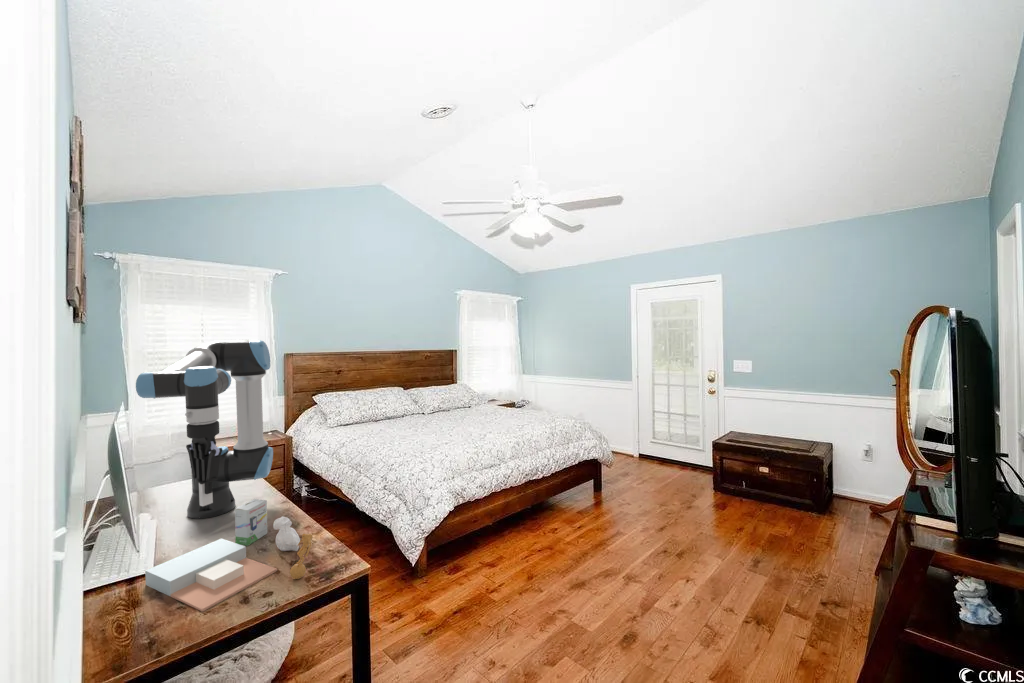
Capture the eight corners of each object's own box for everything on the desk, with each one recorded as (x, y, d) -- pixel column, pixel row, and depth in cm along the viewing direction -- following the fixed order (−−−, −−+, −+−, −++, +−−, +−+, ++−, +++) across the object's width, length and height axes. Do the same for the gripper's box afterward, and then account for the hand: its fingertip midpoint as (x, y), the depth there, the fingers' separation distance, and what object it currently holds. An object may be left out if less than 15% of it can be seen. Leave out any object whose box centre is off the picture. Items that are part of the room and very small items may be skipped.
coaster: (226, 567, 127) (225, 559, 127) (243, 574, 124) (243, 565, 124) (196, 582, 120) (195, 573, 120) (213, 589, 117) (213, 580, 116)
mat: (246, 559, 133) (246, 557, 133) (277, 570, 126) (277, 568, 126) (170, 596, 115) (170, 594, 115) (202, 611, 108) (202, 609, 108)
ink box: (255, 532, 150) (254, 498, 150) (268, 533, 149) (267, 499, 149) (234, 544, 142) (233, 508, 141) (248, 546, 141) (247, 509, 140)
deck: (221, 551, 138) (221, 538, 138) (246, 559, 133) (245, 546, 132) (145, 584, 120) (145, 570, 120) (170, 596, 115) (170, 581, 115)
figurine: (286, 574, 125) (285, 532, 124) (308, 566, 128) (307, 526, 128) (294, 587, 118) (293, 543, 118) (317, 579, 122) (316, 536, 122)
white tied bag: (282, 547, 144) (258, 527, 139) (302, 528, 148) (278, 507, 143) (291, 563, 135) (265, 541, 130) (312, 541, 138) (287, 520, 134)
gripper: (174, 422, 124) (178, 505, 125) (202, 427, 118) (206, 513, 119) (203, 416, 130) (206, 495, 132) (231, 421, 125) (234, 503, 126)
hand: (206, 504), depth 126 cm, fingers closed
